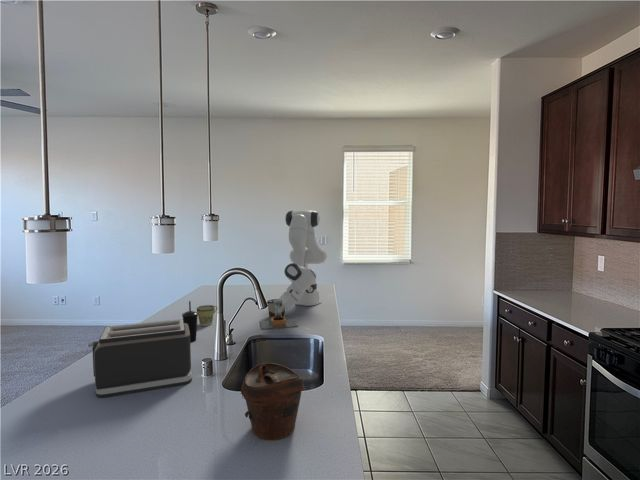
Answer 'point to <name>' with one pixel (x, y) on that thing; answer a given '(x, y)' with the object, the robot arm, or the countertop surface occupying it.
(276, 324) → the grey base plate
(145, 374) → the toaster
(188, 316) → the drinking cup
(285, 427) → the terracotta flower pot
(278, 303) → the square-headed pin
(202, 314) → the ceramic cup
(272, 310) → the food container
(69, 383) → the countertop surface
